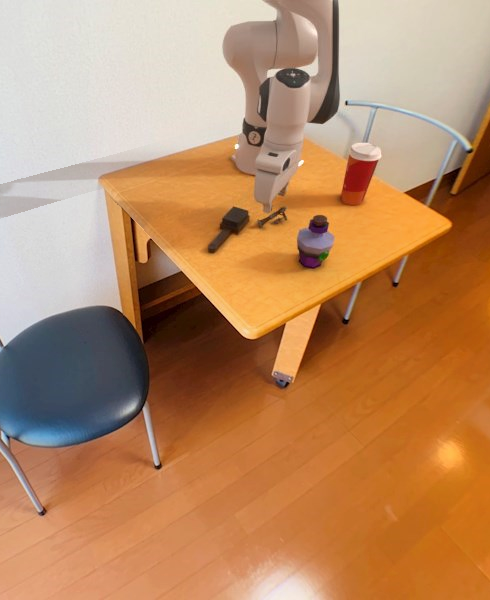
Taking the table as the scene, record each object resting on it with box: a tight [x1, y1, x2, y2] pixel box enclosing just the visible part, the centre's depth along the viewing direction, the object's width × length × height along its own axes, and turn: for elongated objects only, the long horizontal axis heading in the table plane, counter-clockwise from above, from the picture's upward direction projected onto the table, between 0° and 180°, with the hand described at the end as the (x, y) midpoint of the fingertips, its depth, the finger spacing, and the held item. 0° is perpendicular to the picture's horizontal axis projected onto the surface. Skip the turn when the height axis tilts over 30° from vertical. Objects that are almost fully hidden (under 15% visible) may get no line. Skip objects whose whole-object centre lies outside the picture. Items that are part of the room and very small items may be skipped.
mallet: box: [207, 206, 251, 254], centre depth 108 cm, size 17×5×3 cm, turn 150°
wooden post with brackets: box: [256, 206, 288, 229], centre depth 112 cm, size 2×8×4 cm, turn 108°
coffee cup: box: [340, 142, 382, 206], centre depth 116 cm, size 8×8×15 cm
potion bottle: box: [296, 214, 336, 270], centre depth 97 cm, size 9×9×12 cm
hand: (274, 202), depth 108 cm, fingers open, 8 cm apart
